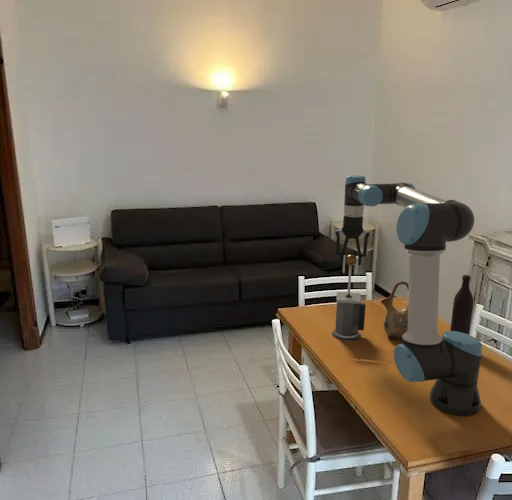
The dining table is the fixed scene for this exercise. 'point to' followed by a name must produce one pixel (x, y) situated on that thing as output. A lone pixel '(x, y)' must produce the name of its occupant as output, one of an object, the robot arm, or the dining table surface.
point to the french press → (349, 316)
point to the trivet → (346, 340)
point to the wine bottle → (462, 308)
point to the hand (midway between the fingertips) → (350, 272)
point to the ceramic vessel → (395, 316)
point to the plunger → (350, 261)
